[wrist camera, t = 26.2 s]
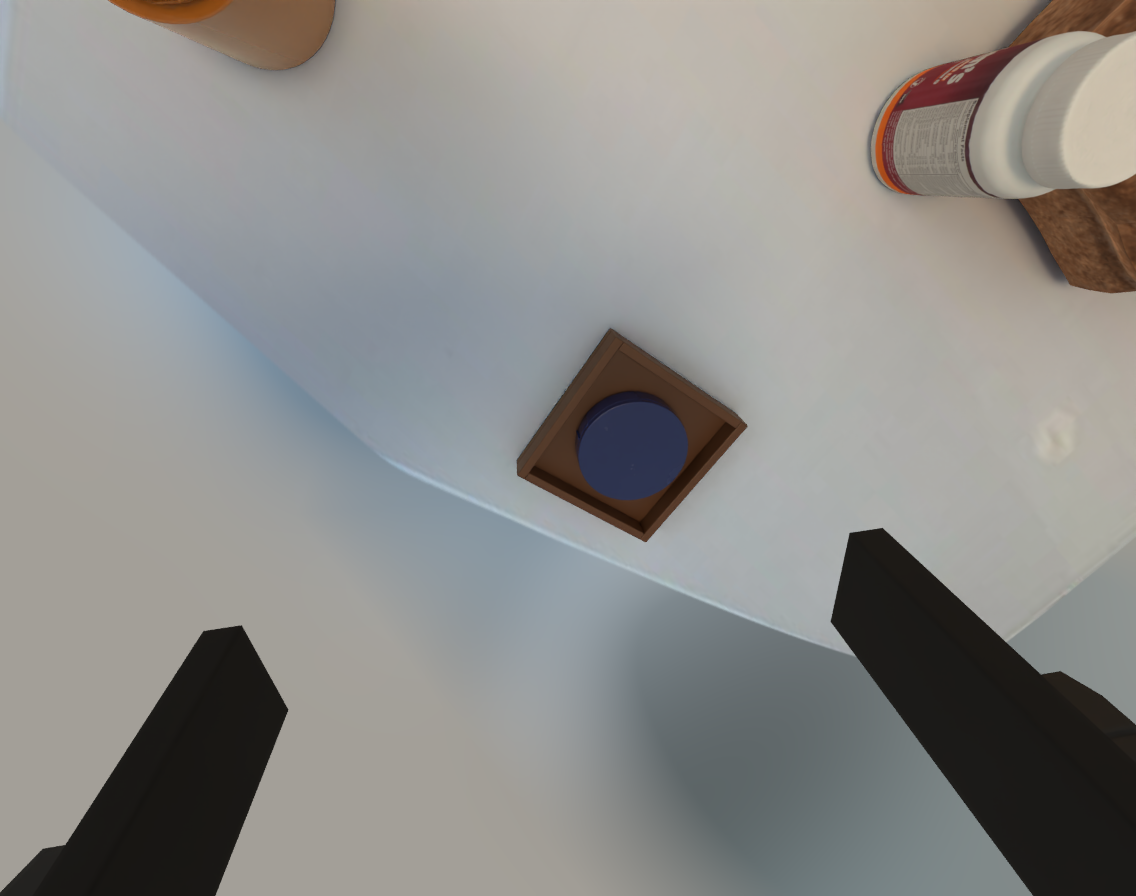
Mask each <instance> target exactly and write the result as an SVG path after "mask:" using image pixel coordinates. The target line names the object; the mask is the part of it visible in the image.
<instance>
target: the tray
mask: <svg viewBox="0 0 1136 896" xmlns="http://www.w3.org/2000/svg"><path fill="white" fill-rule="evenodd" d="M629 391H638V392H645V393H648V394H652V395H654V396H656V397H658V398H660V399H661V400H663V401H664V402H665V403H667V404H668V405H669V406H670V408H671V409H672V410H673V411H674V413H675V414H676V415H677V417H678V418H679V420H680V421H681V423H682V424H683V426H684V428H685V431H686V434H687V438H688V452H687V457H686V460H685V463H684V465H683V467H682V469H681V471H680V472H679V474H678V475H677V477H676V478H675V479H674V480H673V481H672V482H671V483H670V484H669V485H668V486H666V487H665V488H664V489H662V490H661V491H659V492H657V493H655V494H653V495H651V496H648V497H645V498H641V499H637V500H618V499H613V498H610V497H607V496H604V495H603V494H601V493H599V492H597V491H596V490H595V489H593V488H592V487H591V486H590V485H589V484H588V483H587V481H586V480H585V478H584V477H583V475H582V472H581V470H580V467H579V463H578V459H577V454H576V449H575V439H576V430H578V427H579V425H580V423H581V421H582V419H583V418H584V416H585V415H586V414H587V412H588V411H589V410H590V409H591V408H592V407H593V406H595V405H596V404H597V403H598V402H600V401H601V400H603V399H605V398H607V397H609V396H611V395H614V394H617V393H622V392H629ZM746 428H747V424H746V423H745V422H744V421H743V420H742V419H741V418H740V417H739V416H738V415H737V414H736V413H735V412H733V411H732V410H730V409H729V408H727V407H726V406H724V405H723V404H721V403H720V402H718V401H717V400H715V399H714V398H712V397H711V396H710V395H708V394H707V393H705V392H704V391H702V390H701V389H699V388H698V387H696V386H695V385H693V384H692V383H690V382H689V381H687V380H686V379H685V378H683V377H682V376H680V375H679V374H677V373H676V372H674V371H673V370H671V369H670V368H668V367H667V366H665V365H664V364H662V363H661V362H660V361H658V360H657V359H655V358H654V357H652V356H651V355H649V354H648V353H646V352H645V351H643V350H642V349H640V348H639V347H637V346H636V345H635V344H633V343H632V342H630V341H629V340H627V339H626V338H624V337H623V336H621V335H620V334H618V333H617V332H615V331H614V330H612V329H611V328H610V329H609V330H608V332H607V333H606V335H605V336H604V337H603V339H602V340H601V342H600V343H599V345H598V346H597V347H596V349H595V350H594V352H593V353H592V355H591V356H590V357H589V359H588V360H587V362H586V363H585V364H584V366H583V367H582V369H581V370H580V372H579V373H578V374H577V376H576V377H575V379H574V380H573V381H572V383H571V384H570V386H569V387H568V389H567V390H566V391H565V393H564V394H563V396H562V397H561V399H560V400H559V401H558V403H557V404H556V406H555V407H554V408H553V410H552V411H551V413H550V414H549V416H548V417H547V418H546V420H545V421H544V423H543V424H542V426H541V427H540V428H539V430H538V431H537V433H536V434H535V435H534V437H533V438H532V440H531V441H530V443H529V444H528V445H527V447H526V448H525V450H524V451H523V452H522V454H521V455H520V457H519V458H518V460H517V475H518V476H519V477H521V478H523V479H525V480H527V481H529V482H531V483H533V484H535V485H537V486H538V487H540V488H542V489H544V490H546V491H548V492H550V493H552V494H554V495H556V496H558V497H560V498H562V499H563V500H565V501H567V502H569V503H571V504H573V505H575V506H577V507H579V508H581V509H583V510H585V511H586V512H588V513H590V514H592V515H594V516H596V517H598V518H600V519H602V520H604V521H606V522H608V523H610V524H611V525H613V526H615V527H617V528H619V529H621V530H623V531H625V532H627V533H629V534H631V535H633V536H635V537H636V538H638V539H640V540H642V541H644V542H647V541H648V539H649V538H650V537H651V536H652V535H653V534H654V533H655V531H656V530H657V529H658V528H659V527H660V526H661V525H662V523H663V522H664V521H665V520H666V519H667V518H668V517H669V515H670V514H671V513H672V512H673V511H674V510H675V509H676V507H677V506H678V505H679V504H680V503H681V502H682V501H683V499H684V498H685V497H686V496H687V495H688V494H689V493H690V491H691V490H692V489H693V488H694V487H695V486H696V485H697V483H698V482H699V481H700V480H701V479H702V478H703V477H704V475H705V474H706V473H707V472H708V471H709V470H710V469H711V467H712V466H713V465H714V464H715V463H716V462H717V461H718V459H719V458H720V457H721V456H722V455H723V454H724V453H725V451H726V450H727V449H728V448H729V447H730V446H731V445H732V443H733V442H734V441H735V440H736V439H737V438H738V437H739V435H740V434H741V433H742V432H743V431H744V430H745V429H746Z"/></svg>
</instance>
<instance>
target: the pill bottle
mask: <svg viewBox="0 0 1136 896" xmlns="http://www.w3.org/2000/svg"><path fill="white" fill-rule="evenodd" d="M871 159H872V164H873V168H874V171H875V173H876V175H877V177H878V178H879V180H880V181H881V182H882V183H883V184H884V185H885V186H886V187H888V188H889V189H891V190H893V191H895V192H898V193H903V194H911V195H928V196H955V197H980V198H1003V199H1021V198H1030V197H1035V196H1039V195H1042V194H1045V193H1048V192H1050V191H1053V190H1055V189H1072V188H1102V187H1108V186H1111V185H1115V184H1117V183H1120V182H1122V181H1124V180H1126V179H1128V178H1130V177H1132V176H1133V175H1135V174H1136V31H1135V32H1131V33H1126V34H1120V35H1114V36H1110V37H1105V36H1103V35H1100V34H1097V33H1094V32H1086V31H1075V32H1068V33H1063V34H1059V35H1054V36H1050V37H1046V38H1043V39H1039V40H1035V41H1032V42H1028V43H1024V44H1020V45H1016V46H1013V47H1008V48H1003V49H999V50H997V51H993V52H990V53H986V54H982V55H977V56H973V57H970V58H966V59H962V60H958V61H955V62H951V63H947V64H943V65H939V66H936V67H933V68H929V69H927V70H924V71H922V72H920V73H918V74H916V75H914V76H912V77H911V78H910V79H908V80H907V81H906V82H904V83H903V84H902V85H901V86H900V87H899V88H898V89H897V90H896V91H895V92H894V93H893V94H892V96H891V97H890V98H889V100H888V101H887V102H886V104H885V106H884V107H883V109H882V111H881V113H880V115H879V117H878V119H877V122H876V124H875V127H874V132H873V136H872V142H871Z"/></svg>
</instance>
